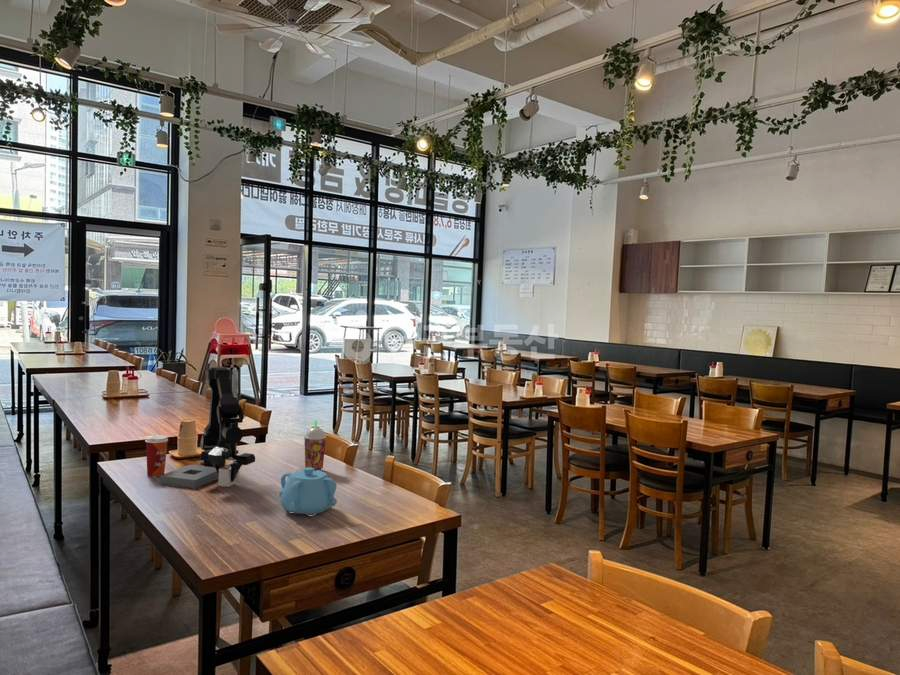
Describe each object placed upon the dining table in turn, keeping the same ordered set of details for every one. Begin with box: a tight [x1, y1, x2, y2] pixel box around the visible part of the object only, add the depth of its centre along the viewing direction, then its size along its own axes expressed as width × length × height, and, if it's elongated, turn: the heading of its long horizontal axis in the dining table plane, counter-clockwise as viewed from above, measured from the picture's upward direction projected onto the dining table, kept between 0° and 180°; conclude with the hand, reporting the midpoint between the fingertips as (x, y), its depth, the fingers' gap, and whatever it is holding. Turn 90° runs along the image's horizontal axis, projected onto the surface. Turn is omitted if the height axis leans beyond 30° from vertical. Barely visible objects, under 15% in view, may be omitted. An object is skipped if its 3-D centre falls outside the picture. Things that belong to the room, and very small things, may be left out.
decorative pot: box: [279, 467, 338, 515], centre depth 192 cm, size 16×16×14 cm
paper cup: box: [144, 434, 169, 477], centre depth 222 cm, size 8×8×14 cm
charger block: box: [217, 465, 236, 488], centre depth 215 cm, size 4×4×6 cm
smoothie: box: [303, 419, 327, 471], centre depth 237 cm, size 8×8×20 cm
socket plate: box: [159, 464, 219, 489], centre depth 218 cm, size 16×14×3 cm
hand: (226, 480), depth 215 cm, fingers closed on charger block, 4 cm apart
